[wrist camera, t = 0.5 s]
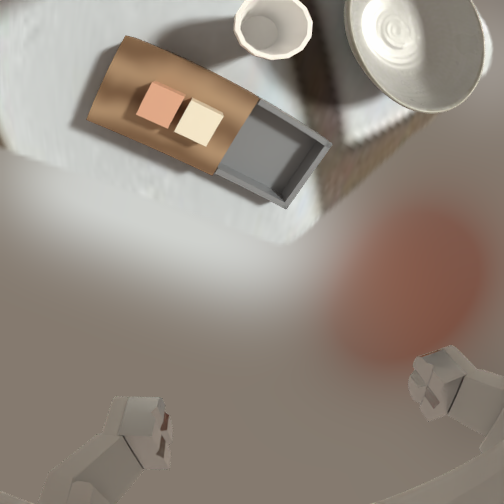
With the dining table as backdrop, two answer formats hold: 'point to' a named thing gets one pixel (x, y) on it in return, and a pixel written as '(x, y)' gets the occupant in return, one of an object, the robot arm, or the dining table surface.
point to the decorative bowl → (418, 49)
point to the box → (273, 154)
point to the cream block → (199, 122)
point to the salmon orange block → (160, 104)
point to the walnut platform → (194, 86)
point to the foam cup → (273, 28)
